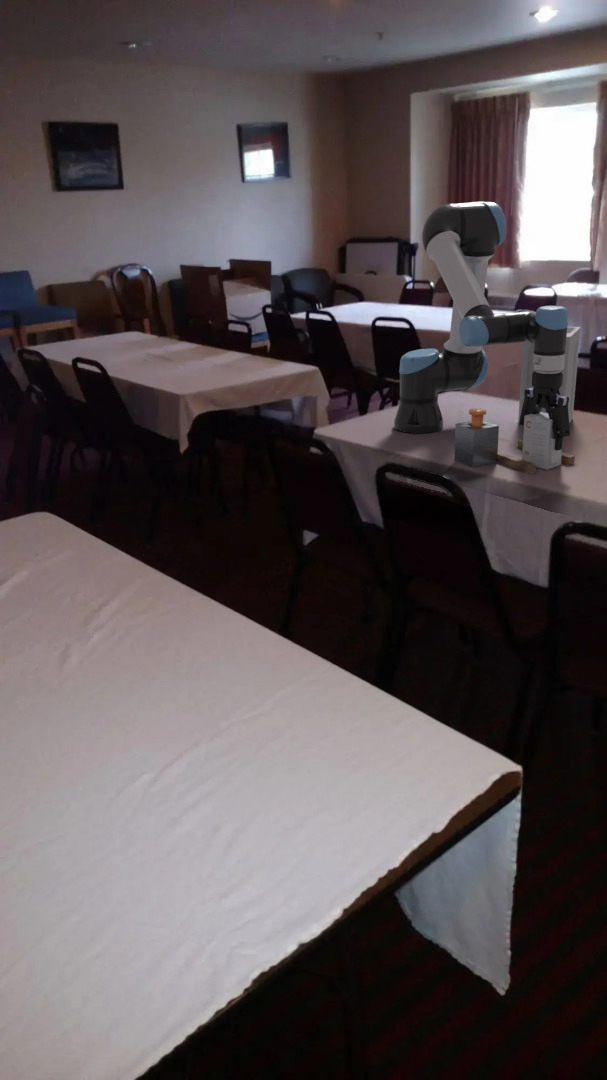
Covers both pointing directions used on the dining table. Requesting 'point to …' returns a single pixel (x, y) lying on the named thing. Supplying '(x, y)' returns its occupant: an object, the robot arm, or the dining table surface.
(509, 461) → the track
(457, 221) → the robot arm
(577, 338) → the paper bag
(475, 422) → the orange piece
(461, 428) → the grey block with hole
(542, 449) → the small box
